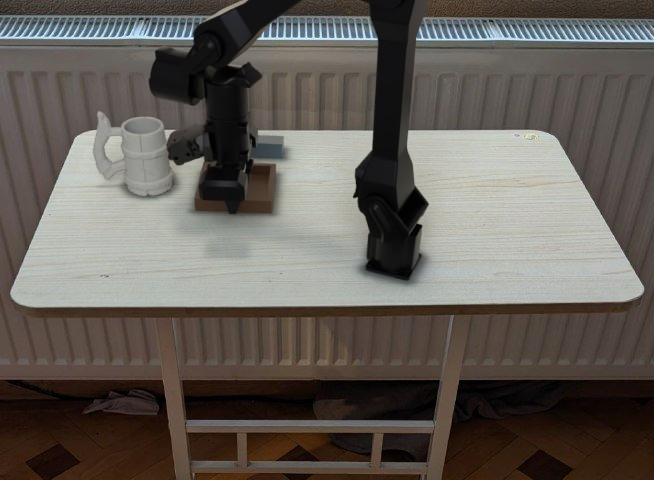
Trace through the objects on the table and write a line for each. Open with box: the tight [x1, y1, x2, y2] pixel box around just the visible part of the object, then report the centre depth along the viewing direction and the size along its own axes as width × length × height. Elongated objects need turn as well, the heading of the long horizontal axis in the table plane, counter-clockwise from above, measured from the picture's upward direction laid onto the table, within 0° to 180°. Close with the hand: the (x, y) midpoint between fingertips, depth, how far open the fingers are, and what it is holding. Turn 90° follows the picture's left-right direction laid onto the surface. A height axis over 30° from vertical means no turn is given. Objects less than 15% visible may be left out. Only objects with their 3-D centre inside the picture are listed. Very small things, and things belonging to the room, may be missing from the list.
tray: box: [193, 161, 277, 214], centre depth 129 cm, size 12×12×2 cm
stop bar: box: [249, 134, 285, 159], centre depth 139 cm, size 3×12×2 cm, turn 88°
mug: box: [92, 110, 175, 197], centre depth 127 cm, size 8×12×12 cm, turn 96°
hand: (233, 212), depth 123 cm, fingers closed
